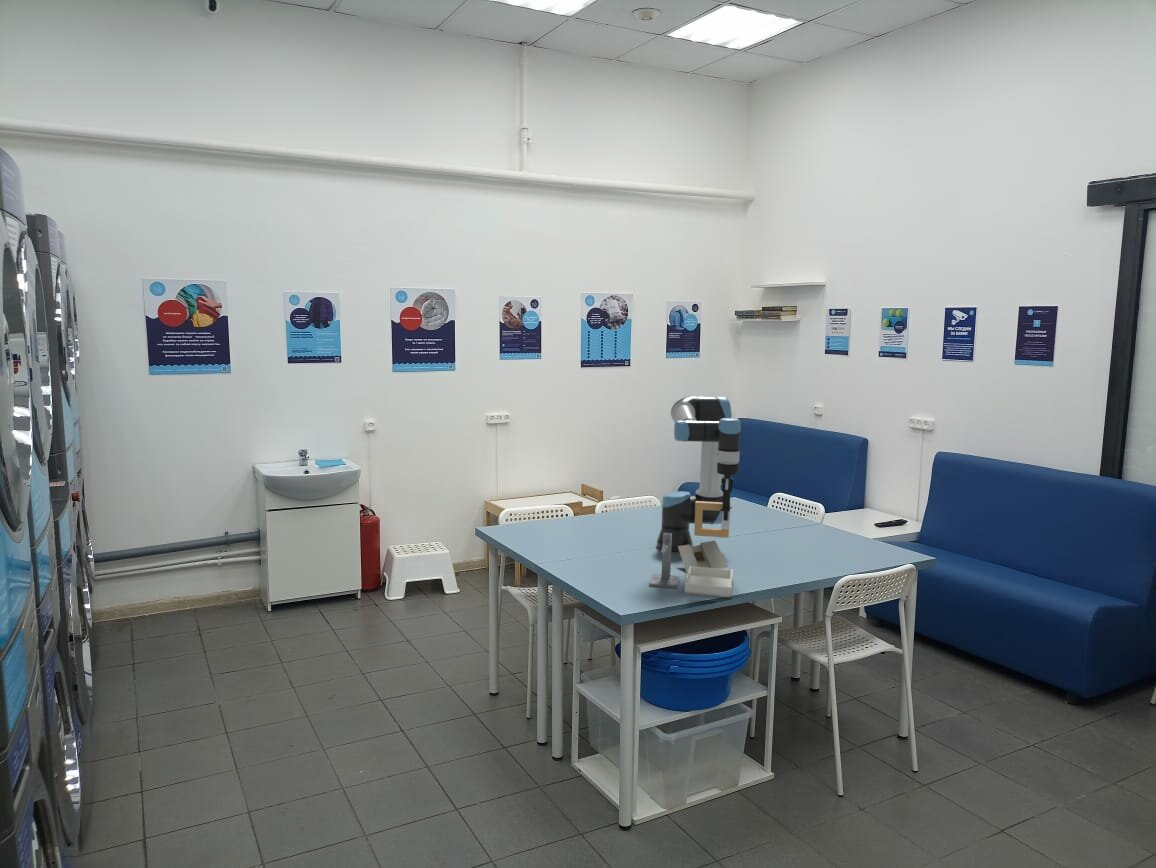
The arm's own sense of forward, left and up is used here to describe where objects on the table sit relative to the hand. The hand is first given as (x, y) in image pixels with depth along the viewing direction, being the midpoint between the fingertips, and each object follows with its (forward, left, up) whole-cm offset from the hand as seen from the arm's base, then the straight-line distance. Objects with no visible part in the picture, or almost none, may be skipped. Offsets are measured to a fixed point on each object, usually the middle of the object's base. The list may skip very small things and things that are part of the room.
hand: (725, 527), depth 288 cm
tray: (0, -5, -22) cm, 22 cm away
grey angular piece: (-22, -9, -22) cm, 32 cm away
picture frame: (0, -5, -3) cm, 6 cm away
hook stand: (+2, -21, -22) cm, 30 cm away
